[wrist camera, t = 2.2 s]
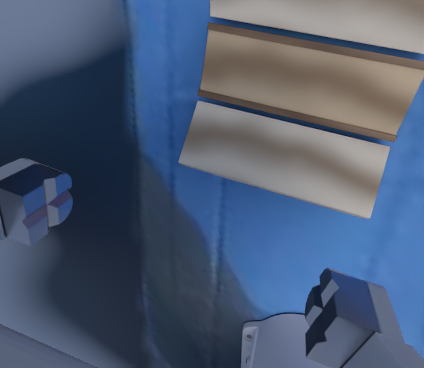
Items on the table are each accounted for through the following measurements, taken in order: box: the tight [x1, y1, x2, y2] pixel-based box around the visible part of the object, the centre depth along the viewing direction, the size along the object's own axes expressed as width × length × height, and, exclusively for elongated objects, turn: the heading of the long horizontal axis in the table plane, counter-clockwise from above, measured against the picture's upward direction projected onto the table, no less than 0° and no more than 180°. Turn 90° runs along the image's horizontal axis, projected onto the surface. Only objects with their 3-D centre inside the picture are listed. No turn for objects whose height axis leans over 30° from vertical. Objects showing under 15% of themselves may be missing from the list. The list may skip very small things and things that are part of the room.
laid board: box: [198, 22, 424, 142], centre depth 28 cm, size 7×20×3 cm, turn 79°
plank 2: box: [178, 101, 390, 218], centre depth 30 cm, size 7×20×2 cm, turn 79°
